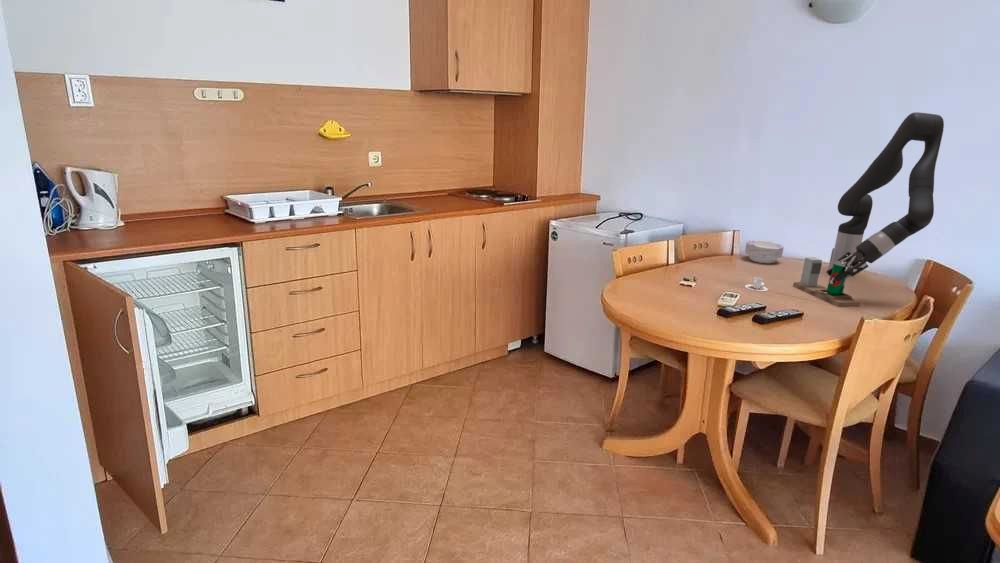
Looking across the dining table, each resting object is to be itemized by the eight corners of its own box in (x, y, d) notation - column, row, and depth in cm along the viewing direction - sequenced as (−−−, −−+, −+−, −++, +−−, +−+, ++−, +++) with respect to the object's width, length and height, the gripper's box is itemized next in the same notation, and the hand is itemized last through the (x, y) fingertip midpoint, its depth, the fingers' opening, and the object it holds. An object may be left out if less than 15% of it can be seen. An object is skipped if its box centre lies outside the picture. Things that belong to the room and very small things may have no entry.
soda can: (844, 297, 209) (852, 264, 206) (828, 295, 210) (836, 262, 207) (839, 293, 214) (847, 261, 211) (824, 291, 215) (832, 259, 212)
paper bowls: (787, 266, 257) (790, 248, 255) (752, 264, 256) (755, 246, 254) (771, 257, 271) (774, 240, 269) (738, 256, 271) (741, 239, 269)
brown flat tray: (793, 286, 227) (794, 280, 226) (811, 285, 228) (812, 279, 228) (839, 306, 204) (840, 300, 204) (859, 306, 206) (860, 299, 205)
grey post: (800, 283, 226) (805, 257, 223) (809, 282, 227) (814, 257, 224) (808, 286, 221) (814, 260, 218) (818, 286, 222) (823, 260, 219)
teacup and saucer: (756, 284, 228) (758, 274, 227) (773, 290, 221) (775, 280, 220) (740, 286, 224) (741, 276, 223) (756, 293, 217) (758, 282, 216)
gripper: (859, 234, 212) (818, 264, 217) (878, 243, 198) (833, 274, 203) (872, 250, 213) (830, 279, 218) (891, 260, 199) (846, 290, 204)
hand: (832, 277), depth 211 cm, fingers open, 6 cm apart
